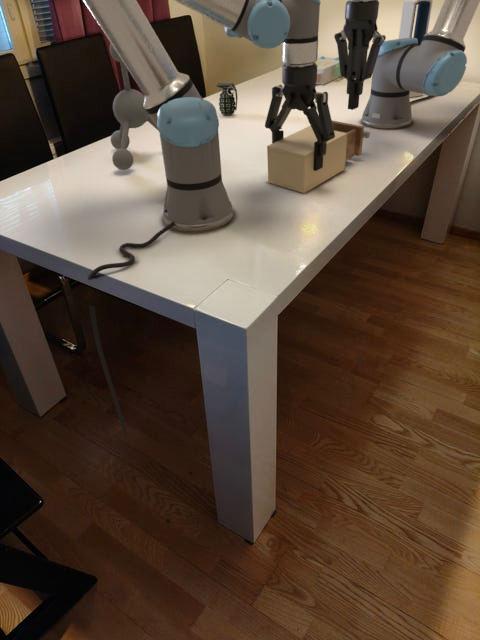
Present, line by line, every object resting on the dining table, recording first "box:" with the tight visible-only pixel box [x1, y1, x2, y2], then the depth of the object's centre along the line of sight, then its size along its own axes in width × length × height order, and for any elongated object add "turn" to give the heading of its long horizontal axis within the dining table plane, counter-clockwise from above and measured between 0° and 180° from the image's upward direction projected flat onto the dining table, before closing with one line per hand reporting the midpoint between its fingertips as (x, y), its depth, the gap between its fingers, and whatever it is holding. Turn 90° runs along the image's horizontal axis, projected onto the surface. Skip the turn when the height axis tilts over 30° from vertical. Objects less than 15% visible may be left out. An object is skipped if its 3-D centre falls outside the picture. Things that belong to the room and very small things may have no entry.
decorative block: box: [314, 56, 342, 85], centre depth 205 cm, size 26×6×20 cm
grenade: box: [215, 82, 238, 117], centre depth 166 cm, size 7×6×10 cm
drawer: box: [332, 120, 371, 162], centre depth 126 cm, size 22×10×7 cm, turn 137°
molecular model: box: [109, 43, 158, 171], centre depth 131 cm, size 24×22×30 cm
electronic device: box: [398, 0, 433, 98], centre depth 170 cm, size 12×8×30 cm, turn 105°
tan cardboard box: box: [266, 125, 347, 194], centre depth 120 cm, size 17×11×9 cm, turn 137°
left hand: (297, 163), depth 118 cm, fingers closed on tan cardboard box, 11 cm apart
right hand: (353, 108), depth 126 cm, fingers closed
